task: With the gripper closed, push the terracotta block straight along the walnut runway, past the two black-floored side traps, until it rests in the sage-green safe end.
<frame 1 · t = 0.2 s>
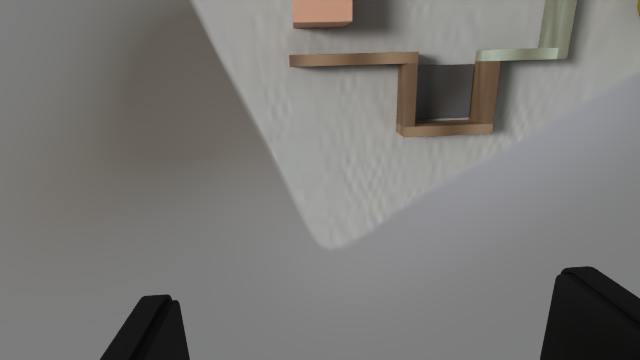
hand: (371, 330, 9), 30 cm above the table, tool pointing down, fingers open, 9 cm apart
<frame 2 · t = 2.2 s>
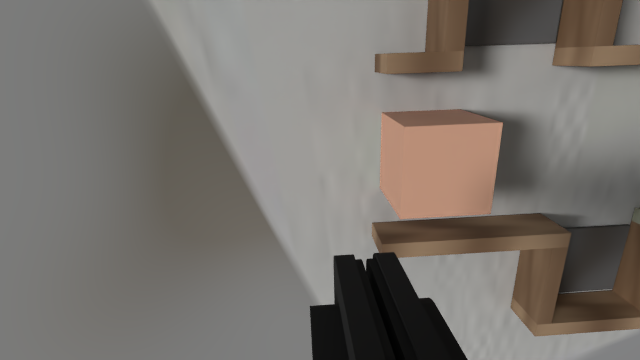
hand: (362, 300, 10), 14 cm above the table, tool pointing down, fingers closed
block: (418, 149, 23), on the table
trap box: (567, 143, 24), on the table
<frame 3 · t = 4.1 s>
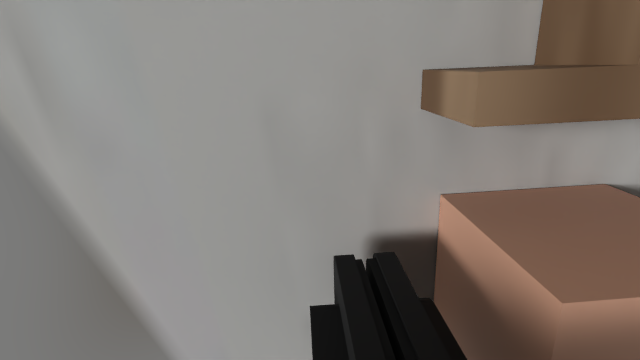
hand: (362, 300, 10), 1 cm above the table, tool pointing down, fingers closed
block: (513, 263, 11), on the table, touching gripper
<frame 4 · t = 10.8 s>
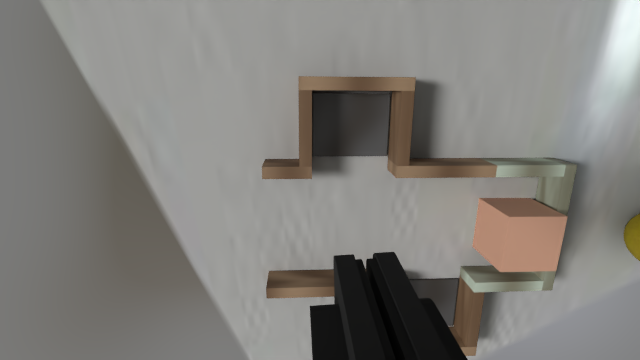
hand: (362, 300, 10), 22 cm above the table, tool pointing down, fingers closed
block: (500, 222, 35), on the table
lemon: (628, 224, 36), on the table
trap box: (405, 220, 34), on the table
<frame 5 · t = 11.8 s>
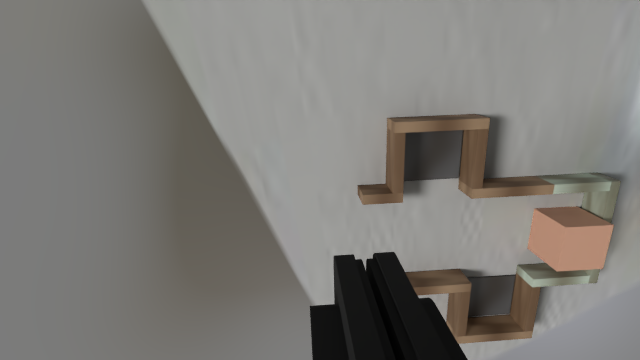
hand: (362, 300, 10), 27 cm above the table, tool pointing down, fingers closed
block: (551, 227, 41), on the table
trap box: (471, 229, 40), on the table
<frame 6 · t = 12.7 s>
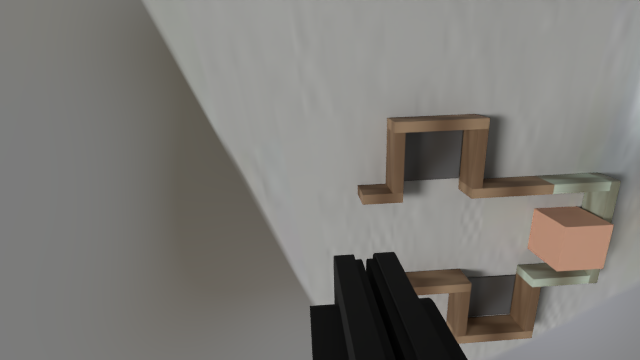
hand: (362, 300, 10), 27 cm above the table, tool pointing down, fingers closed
block: (551, 227, 41), on the table
trap box: (472, 229, 40), on the table
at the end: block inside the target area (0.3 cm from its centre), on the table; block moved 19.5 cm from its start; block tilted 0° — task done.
